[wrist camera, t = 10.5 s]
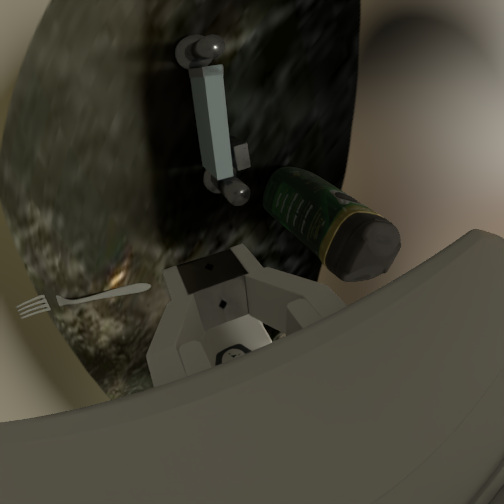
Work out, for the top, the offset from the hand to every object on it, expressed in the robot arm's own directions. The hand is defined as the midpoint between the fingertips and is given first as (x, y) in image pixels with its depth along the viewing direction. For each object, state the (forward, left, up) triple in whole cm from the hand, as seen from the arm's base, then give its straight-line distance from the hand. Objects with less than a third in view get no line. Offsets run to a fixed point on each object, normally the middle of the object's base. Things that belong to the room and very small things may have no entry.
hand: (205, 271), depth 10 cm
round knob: (+8, -8, -25) cm, 28 cm away
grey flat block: (0, -7, -25) cm, 26 cm away
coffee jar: (-14, -18, -25) cm, 34 cm away
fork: (-18, +15, -26) cm, 35 cm away
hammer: (-7, -8, -25) cm, 27 cm away
